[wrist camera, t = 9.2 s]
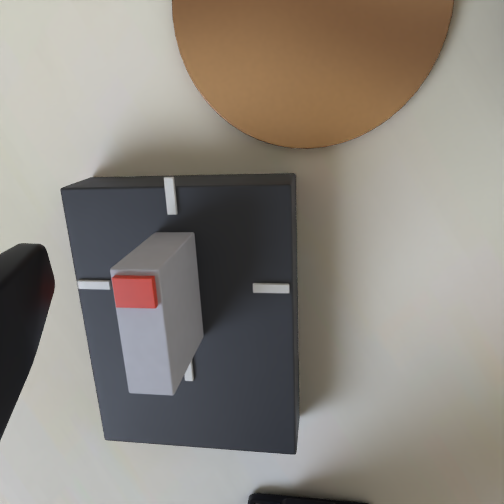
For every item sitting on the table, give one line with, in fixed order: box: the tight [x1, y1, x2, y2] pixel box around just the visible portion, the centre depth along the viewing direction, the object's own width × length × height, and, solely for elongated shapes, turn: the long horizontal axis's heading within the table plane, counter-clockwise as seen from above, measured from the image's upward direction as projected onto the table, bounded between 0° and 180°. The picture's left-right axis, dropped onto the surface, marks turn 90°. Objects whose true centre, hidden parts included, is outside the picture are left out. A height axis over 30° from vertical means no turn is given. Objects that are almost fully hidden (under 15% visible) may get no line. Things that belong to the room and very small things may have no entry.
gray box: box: [110, 232, 204, 396], centre depth 17 cm, size 4×2×4 cm, turn 2°
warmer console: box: [61, 173, 299, 454], centre depth 20 cm, size 12×9×3 cm
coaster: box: [172, 0, 454, 149], centre depth 17 cm, size 10×10×1 cm
